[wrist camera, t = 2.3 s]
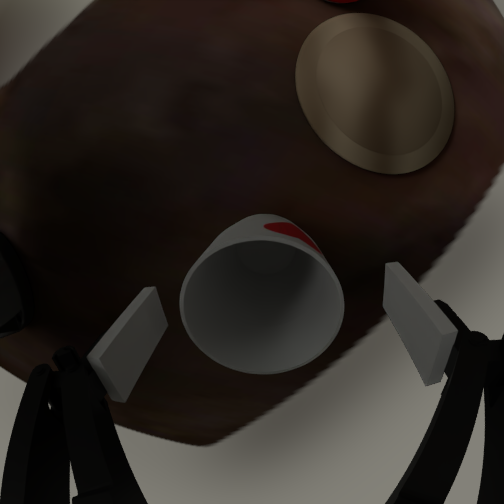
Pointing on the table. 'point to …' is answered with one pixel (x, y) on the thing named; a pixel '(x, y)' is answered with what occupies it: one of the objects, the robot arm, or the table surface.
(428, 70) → the plate
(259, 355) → the cup
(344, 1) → the beverage can
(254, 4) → the table surface
